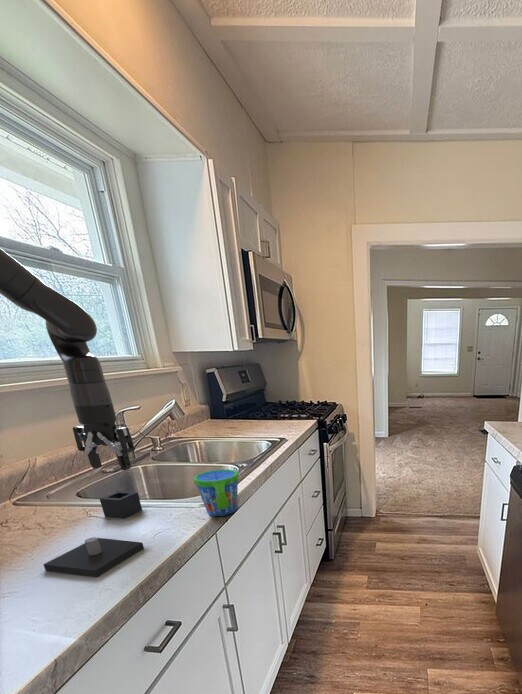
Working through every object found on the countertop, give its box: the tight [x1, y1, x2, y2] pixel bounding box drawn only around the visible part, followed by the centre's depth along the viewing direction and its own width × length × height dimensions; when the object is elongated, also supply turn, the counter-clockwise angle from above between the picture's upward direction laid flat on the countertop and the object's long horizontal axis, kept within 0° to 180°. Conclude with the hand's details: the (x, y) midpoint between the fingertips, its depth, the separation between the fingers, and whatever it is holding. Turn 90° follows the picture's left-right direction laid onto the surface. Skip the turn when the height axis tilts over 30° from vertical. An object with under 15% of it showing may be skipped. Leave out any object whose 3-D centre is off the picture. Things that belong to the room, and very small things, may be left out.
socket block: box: [99, 490, 143, 519], centre depth 104 cm, size 6×6×5 cm
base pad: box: [42, 536, 145, 578], centre depth 82 cm, size 12×12×4 cm
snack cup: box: [193, 469, 240, 517], centre depth 104 cm, size 16×10×10 cm
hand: (111, 468), depth 100 cm, fingers open, 8 cm apart
